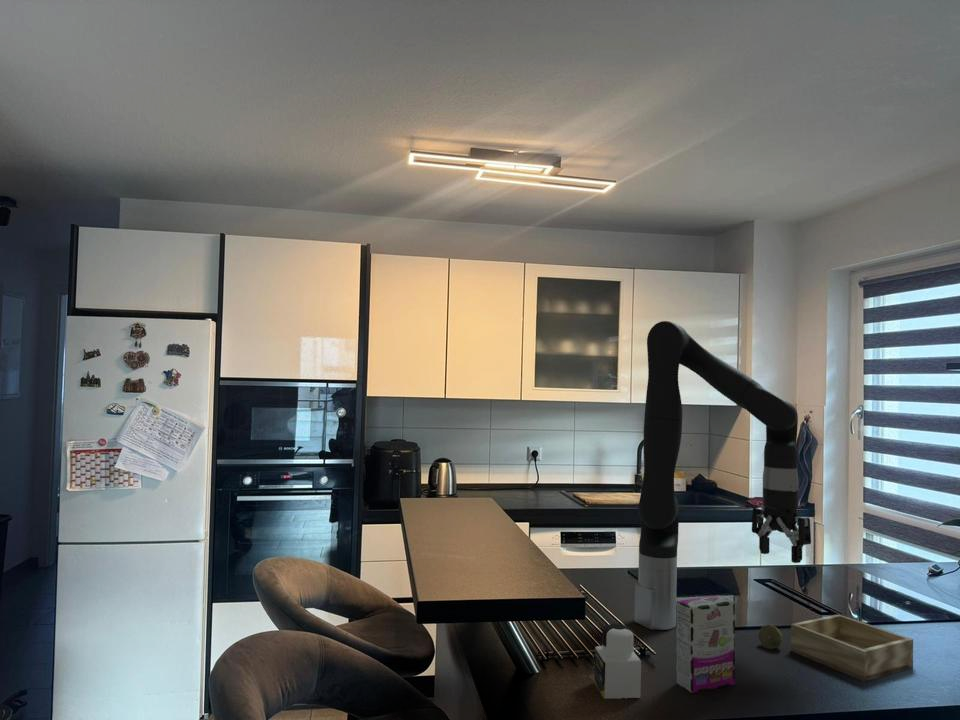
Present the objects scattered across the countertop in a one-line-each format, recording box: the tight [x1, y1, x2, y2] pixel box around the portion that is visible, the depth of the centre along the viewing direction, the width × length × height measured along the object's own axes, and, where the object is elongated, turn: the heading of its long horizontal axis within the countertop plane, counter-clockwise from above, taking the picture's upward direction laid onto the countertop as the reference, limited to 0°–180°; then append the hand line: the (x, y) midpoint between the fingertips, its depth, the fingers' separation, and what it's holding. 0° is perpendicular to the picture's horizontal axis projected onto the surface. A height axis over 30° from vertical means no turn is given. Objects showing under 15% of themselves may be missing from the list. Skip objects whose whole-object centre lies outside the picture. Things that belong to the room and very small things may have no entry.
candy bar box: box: [675, 594, 736, 694], centre depth 131 cm, size 11×5×16 cm, turn 114°
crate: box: [790, 613, 914, 683], centre depth 146 cm, size 17×17×6 cm
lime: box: [758, 624, 783, 650], centre depth 151 cm, size 4×5×5 cm
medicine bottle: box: [593, 623, 642, 700], centre depth 127 cm, size 7×7×12 cm
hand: (780, 557), depth 151 cm, fingers open, 8 cm apart
